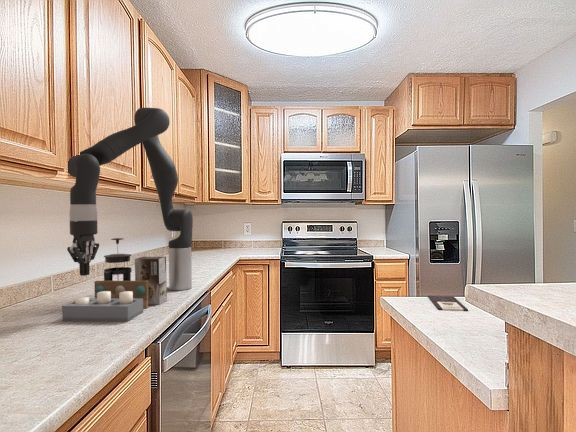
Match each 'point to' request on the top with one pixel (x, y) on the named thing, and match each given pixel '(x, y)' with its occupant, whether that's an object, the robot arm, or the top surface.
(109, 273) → the french press
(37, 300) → the top surface
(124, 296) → the button
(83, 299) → the button
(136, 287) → the placard
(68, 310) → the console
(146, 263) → the coffee box
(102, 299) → the button
